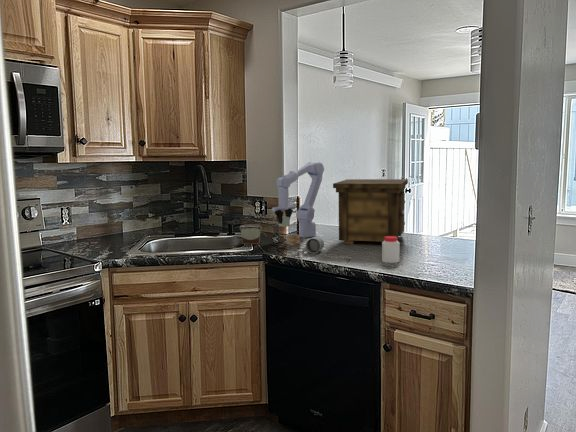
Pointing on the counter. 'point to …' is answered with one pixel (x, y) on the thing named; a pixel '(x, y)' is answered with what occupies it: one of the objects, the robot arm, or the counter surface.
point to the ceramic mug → (314, 245)
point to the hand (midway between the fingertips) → (284, 222)
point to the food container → (250, 233)
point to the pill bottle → (390, 249)
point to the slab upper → (293, 237)
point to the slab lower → (293, 242)
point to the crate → (370, 209)
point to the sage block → (285, 221)
